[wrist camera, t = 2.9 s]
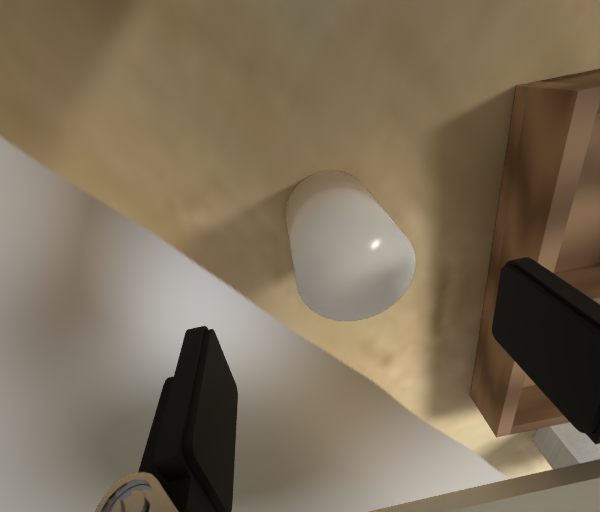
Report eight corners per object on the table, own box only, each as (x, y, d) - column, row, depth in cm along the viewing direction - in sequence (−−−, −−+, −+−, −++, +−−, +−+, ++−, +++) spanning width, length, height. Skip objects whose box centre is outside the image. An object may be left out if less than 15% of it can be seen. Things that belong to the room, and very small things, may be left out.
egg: (277, 180, 17) (285, 233, 11) (367, 162, 17) (416, 206, 11) (293, 257, 19) (306, 330, 14) (372, 241, 19) (415, 308, 14)
